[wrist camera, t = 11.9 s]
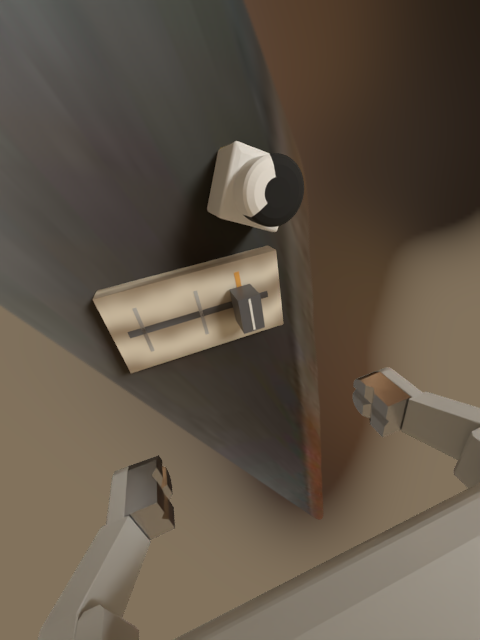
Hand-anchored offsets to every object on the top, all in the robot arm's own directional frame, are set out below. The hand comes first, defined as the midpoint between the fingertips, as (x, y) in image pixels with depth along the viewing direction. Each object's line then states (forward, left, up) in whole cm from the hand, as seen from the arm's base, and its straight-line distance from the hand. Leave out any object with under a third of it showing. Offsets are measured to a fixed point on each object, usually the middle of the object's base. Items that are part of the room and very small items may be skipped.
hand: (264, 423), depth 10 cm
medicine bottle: (-6, +9, -29) cm, 31 cm away
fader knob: (+8, +6, -26) cm, 27 cm away
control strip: (+8, 0, -29) cm, 30 cm away
